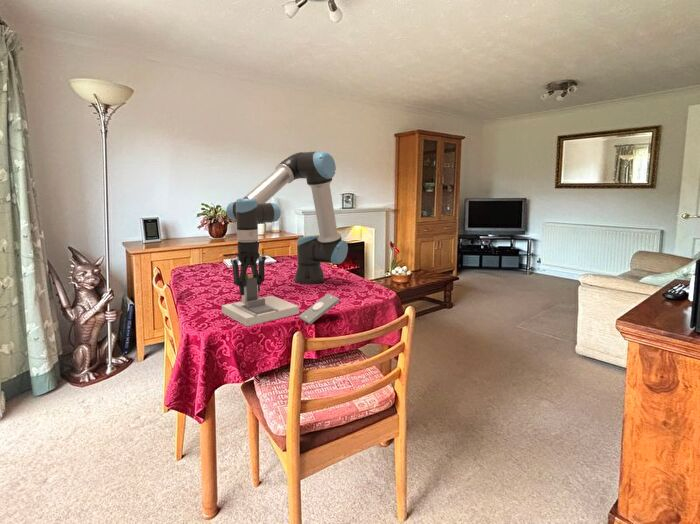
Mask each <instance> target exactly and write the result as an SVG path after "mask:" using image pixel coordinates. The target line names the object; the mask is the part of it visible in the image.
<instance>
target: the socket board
mask: <svg viewBox="0 0 700 524" xmlns="http://www.w3.org/2000/svg"><path fill="white" fill-rule="evenodd" d="M262 298H264V299H265V305H266V306H269V307H271V308H273V311H269V312H265V313H260V314H255V313H253V312H251V311H249V310H247V305H246V304H244V303H242V301H237V302H233V303H227V304H226V303H225V304H222V305H221V313H222V314H224V315H225V316H227V317H229V318H230V319H232V320H234V321H236V322H238V323H240V324H241V325H243V326H245V327H250V326H254V325H259V324H263V323H266V322H267V323H268V322H272V321H275V320H279V319H283V318H287V317H292V316H295V315H300V305H297V304H294V303H292V302H289V301H287V300H285V299H282V298H280V297H276V296H274V295H267V296H263V297H258V299H262Z"/></svg>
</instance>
